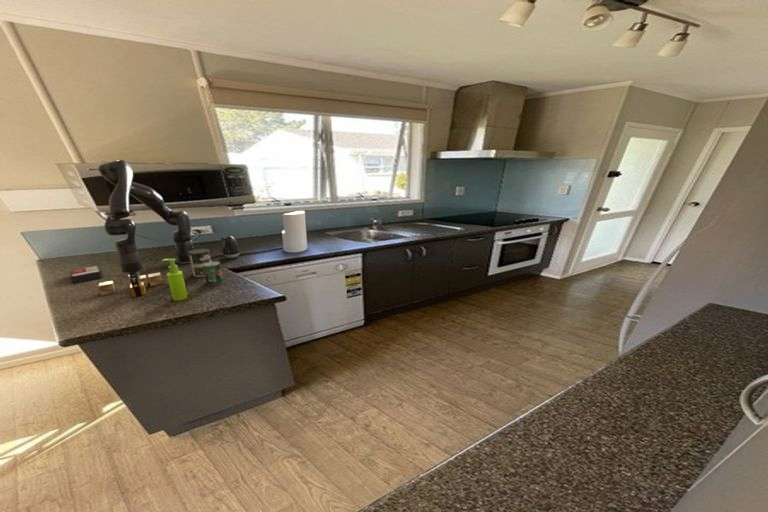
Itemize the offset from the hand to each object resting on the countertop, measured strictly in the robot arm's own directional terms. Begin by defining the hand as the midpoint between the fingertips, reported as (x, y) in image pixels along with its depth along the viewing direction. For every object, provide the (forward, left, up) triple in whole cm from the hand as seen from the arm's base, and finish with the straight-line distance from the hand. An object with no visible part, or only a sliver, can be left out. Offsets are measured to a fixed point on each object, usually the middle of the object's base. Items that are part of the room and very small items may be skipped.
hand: (139, 293), depth 141 cm
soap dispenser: (-15, +17, -1) cm, 23 cm away
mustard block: (0, 0, 0) cm, 0 cm away
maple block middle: (-1, -11, 0) cm, 11 cm away
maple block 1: (+12, -11, 0) cm, 16 cm away
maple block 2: (-7, -11, 0) cm, 13 cm away
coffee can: (-29, -12, -1) cm, 31 cm away
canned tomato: (-32, +6, -1) cm, 33 cm away
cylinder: (-92, -28, -1) cm, 96 cm away
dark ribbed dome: (-49, -34, -1) cm, 60 cm away
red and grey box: (+23, -44, -1) cm, 50 cm away
